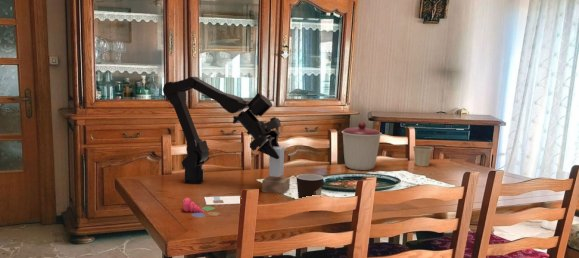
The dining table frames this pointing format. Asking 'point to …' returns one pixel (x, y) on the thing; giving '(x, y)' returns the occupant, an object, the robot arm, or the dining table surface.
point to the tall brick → (277, 163)
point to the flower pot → (422, 155)
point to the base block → (275, 184)
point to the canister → (360, 147)
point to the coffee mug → (309, 185)
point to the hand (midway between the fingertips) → (280, 157)
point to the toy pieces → (196, 208)
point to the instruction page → (222, 200)
